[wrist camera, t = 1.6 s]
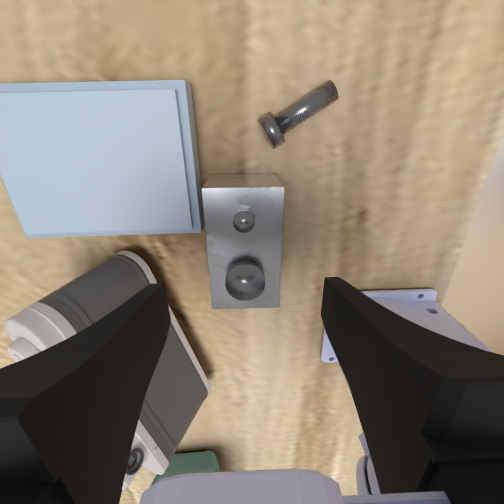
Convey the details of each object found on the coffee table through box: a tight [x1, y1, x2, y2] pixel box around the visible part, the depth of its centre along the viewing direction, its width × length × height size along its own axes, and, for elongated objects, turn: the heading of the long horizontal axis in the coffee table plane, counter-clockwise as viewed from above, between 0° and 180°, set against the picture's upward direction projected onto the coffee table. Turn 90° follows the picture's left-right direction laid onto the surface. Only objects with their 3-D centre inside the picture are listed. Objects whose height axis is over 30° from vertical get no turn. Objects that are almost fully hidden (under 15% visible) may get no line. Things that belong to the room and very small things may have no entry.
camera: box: [5, 251, 211, 490], centre depth 21 cm, size 9×16×10 cm, turn 18°
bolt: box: [258, 80, 338, 149], centre depth 16 cm, size 5×2×2 cm, turn 121°
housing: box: [202, 173, 284, 309], centre depth 18 cm, size 4×8×6 cm, turn 0°
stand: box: [0, 80, 205, 238], centre depth 17 cm, size 12×9×2 cm
